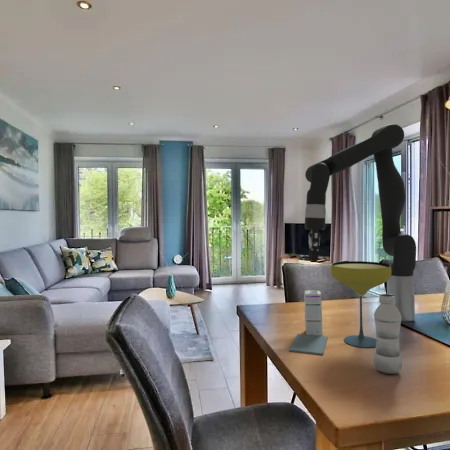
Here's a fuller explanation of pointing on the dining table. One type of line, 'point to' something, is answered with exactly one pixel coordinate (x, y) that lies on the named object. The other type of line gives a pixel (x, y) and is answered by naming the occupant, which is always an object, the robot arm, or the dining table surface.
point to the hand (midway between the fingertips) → (313, 259)
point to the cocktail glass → (361, 288)
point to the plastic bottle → (387, 335)
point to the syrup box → (313, 312)
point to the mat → (309, 344)
